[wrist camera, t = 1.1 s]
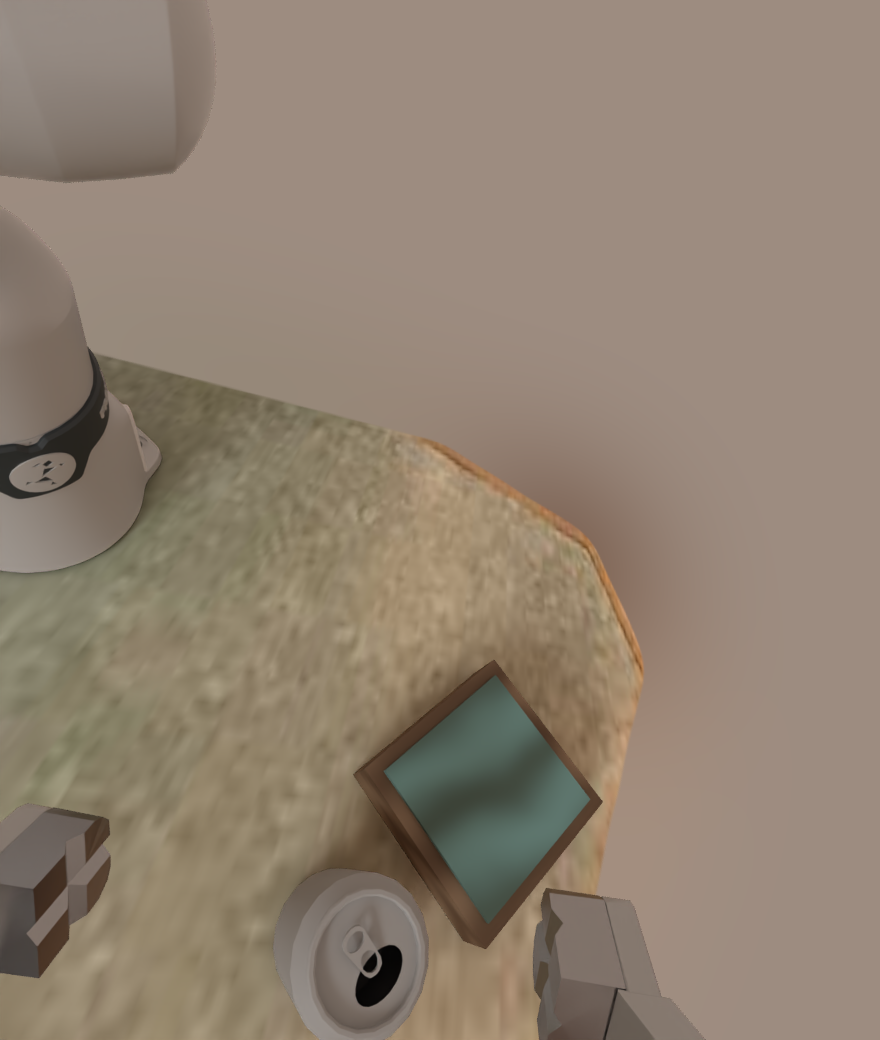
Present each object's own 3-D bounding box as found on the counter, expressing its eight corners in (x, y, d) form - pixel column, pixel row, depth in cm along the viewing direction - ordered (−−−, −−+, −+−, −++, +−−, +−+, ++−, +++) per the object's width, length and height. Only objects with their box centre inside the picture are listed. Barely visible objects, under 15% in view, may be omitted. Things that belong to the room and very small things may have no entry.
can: (320, 1036, 35) (362, 1107, 25) (248, 935, 36) (261, 967, 26) (403, 929, 39) (466, 954, 29) (336, 842, 40) (376, 839, 31)
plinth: (353, 774, 43) (366, 767, 39) (476, 671, 51) (496, 658, 47) (463, 941, 40) (488, 950, 36) (576, 805, 48) (605, 801, 44)
